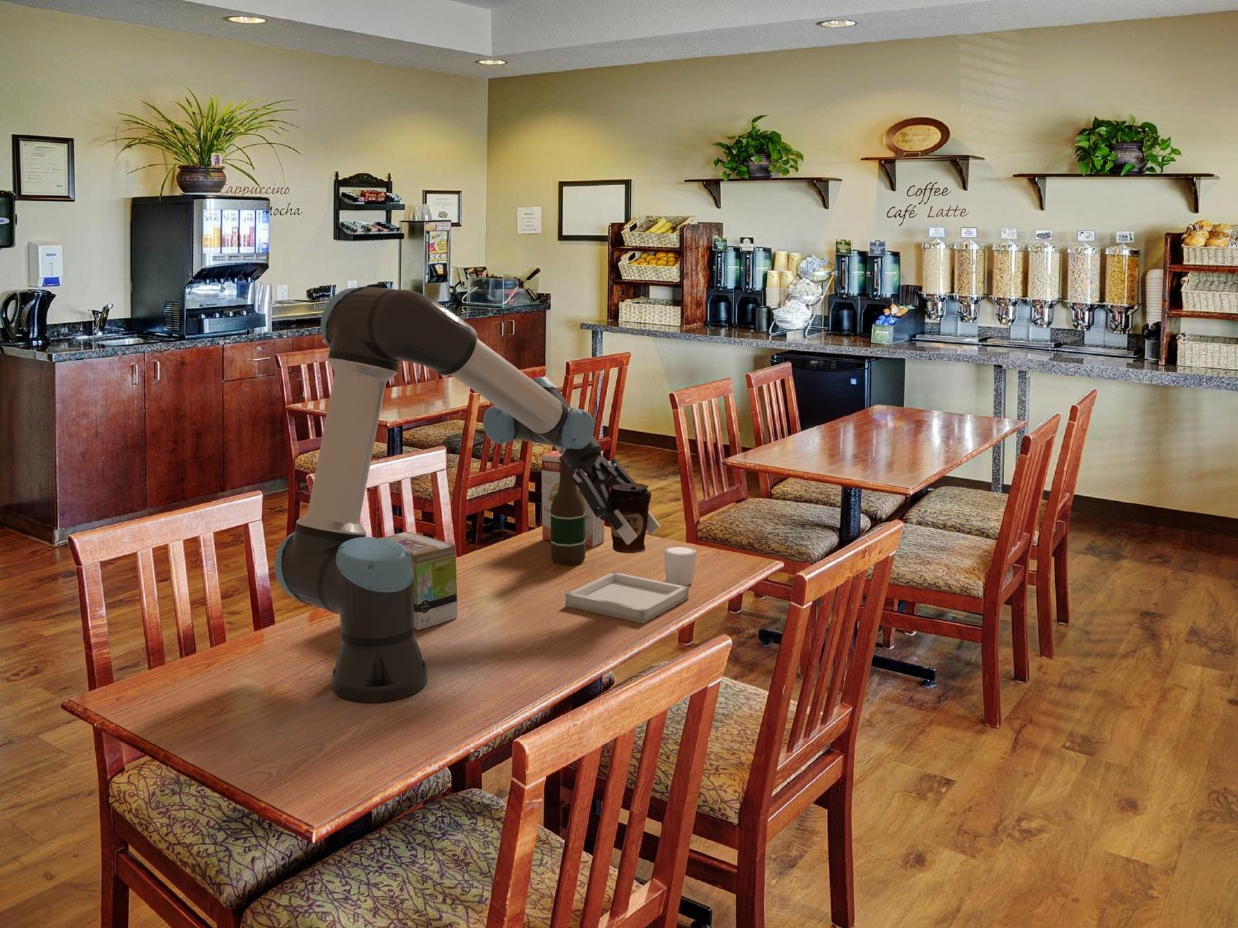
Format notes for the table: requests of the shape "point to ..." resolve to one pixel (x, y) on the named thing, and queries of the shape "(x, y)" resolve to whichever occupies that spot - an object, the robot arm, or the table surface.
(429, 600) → the tea box
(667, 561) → the shot glass
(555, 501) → the beer bottle
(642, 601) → the tray
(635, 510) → the coffee cup
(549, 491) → the cracker box
